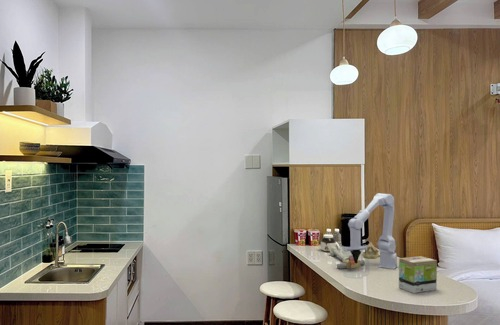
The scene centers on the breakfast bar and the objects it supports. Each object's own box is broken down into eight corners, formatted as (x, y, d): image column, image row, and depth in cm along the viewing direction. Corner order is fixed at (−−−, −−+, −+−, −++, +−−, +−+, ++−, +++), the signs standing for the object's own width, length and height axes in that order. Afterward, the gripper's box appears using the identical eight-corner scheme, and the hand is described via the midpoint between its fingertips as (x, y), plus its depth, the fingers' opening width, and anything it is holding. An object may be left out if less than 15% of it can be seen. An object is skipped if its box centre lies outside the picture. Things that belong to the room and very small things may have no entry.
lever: (348, 259, 224) (348, 255, 224) (353, 259, 223) (353, 255, 224) (350, 264, 212) (350, 260, 212) (355, 264, 211) (355, 260, 211)
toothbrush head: (343, 258, 229) (328, 244, 253) (343, 268, 230) (328, 253, 254) (351, 257, 230) (336, 244, 254) (351, 268, 231) (335, 253, 255)
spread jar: (319, 251, 265) (319, 234, 265) (328, 249, 273) (328, 233, 273) (333, 254, 256) (333, 237, 257) (342, 251, 264) (342, 235, 264)
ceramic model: (363, 253, 259) (363, 239, 259) (379, 255, 255) (380, 240, 255) (361, 258, 246) (361, 242, 246) (379, 259, 241) (379, 244, 242)
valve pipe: (359, 263, 230) (359, 257, 230) (366, 265, 225) (366, 259, 225) (335, 267, 220) (335, 261, 220) (342, 270, 215) (342, 263, 215)
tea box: (414, 294, 174) (414, 262, 174) (398, 287, 183) (398, 257, 184) (437, 290, 180) (437, 259, 180) (420, 284, 189) (420, 255, 190)
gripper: (362, 237, 222) (362, 260, 221) (340, 239, 217) (341, 262, 217) (369, 239, 215) (369, 263, 215) (347, 241, 210) (347, 265, 210)
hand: (355, 263), depth 215 cm, fingers closed, pressing on lever
